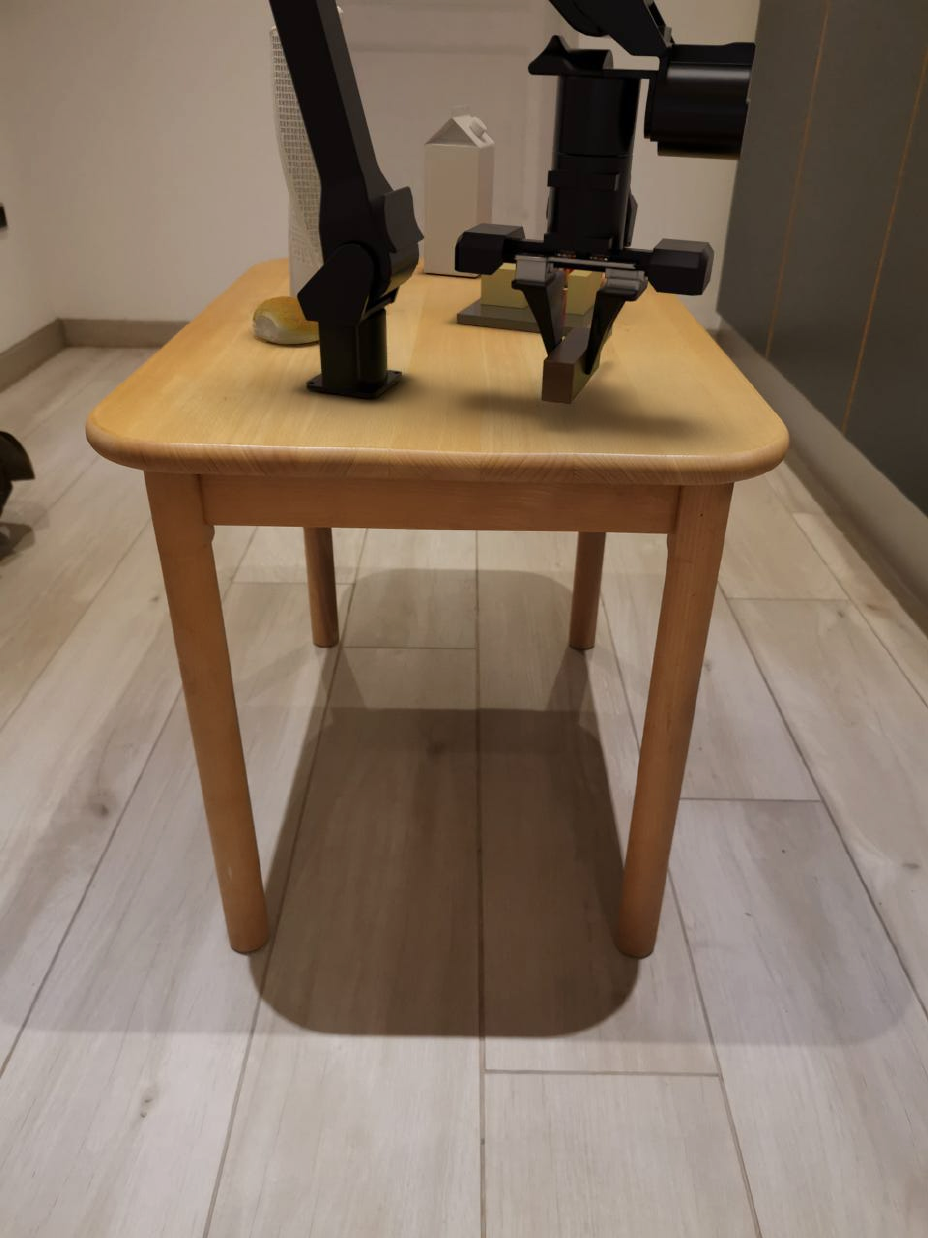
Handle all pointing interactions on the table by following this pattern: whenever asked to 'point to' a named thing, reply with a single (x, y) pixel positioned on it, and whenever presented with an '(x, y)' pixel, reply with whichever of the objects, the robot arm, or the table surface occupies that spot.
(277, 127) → the skyscraper
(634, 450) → the table surface
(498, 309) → the butter board
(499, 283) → the butter block
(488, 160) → the milk carton
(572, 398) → the knife
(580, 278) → the butter slice
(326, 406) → the table surface
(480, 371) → the table surface
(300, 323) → the bread roll
